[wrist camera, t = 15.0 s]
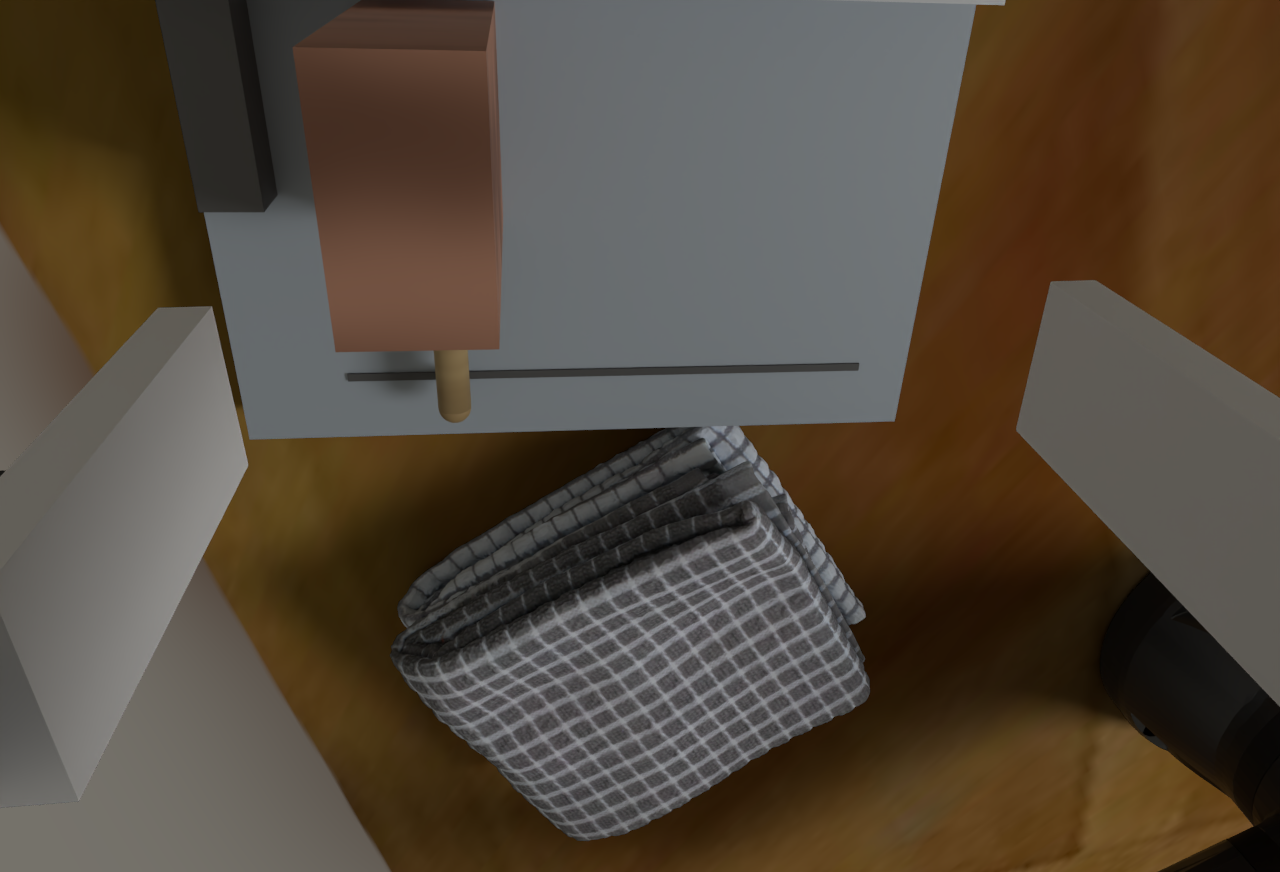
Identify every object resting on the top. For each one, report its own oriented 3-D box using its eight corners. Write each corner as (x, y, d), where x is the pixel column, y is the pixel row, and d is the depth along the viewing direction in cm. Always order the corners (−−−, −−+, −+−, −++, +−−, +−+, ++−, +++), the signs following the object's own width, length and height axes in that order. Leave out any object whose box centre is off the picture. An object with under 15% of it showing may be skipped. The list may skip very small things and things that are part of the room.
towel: (388, 574, 43) (365, 699, 37) (732, 382, 40) (776, 479, 34) (562, 754, 51) (569, 886, 44) (864, 603, 48) (921, 718, 41)
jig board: (874, 393, 41) (921, 458, 36) (264, 408, 38) (229, 481, 33) (957, -68, 32) (1034, -62, 28) (168, -97, 29) (102, -96, 24)
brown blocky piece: (510, 397, 36) (509, 572, 27) (405, 399, 36) (367, 579, 26) (494, 1, 29) (486, 51, 20) (364, -3, 29) (292, 47, 19)
